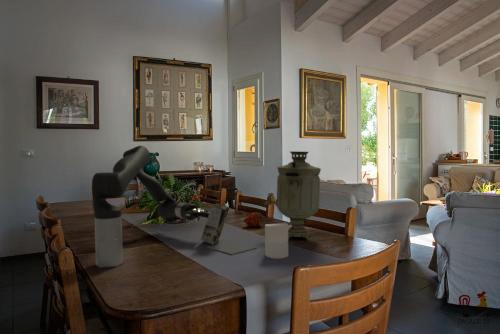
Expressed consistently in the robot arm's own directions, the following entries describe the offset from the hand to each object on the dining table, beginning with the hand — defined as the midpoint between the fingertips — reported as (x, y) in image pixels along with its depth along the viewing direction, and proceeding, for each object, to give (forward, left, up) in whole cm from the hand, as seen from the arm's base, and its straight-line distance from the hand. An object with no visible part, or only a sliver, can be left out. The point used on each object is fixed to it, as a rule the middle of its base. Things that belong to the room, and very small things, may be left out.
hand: (209, 215), depth 171 cm
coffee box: (0, 0, -11) cm, 11 cm away
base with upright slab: (-28, -22, -12) cm, 38 cm away
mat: (-13, -7, -12) cm, 19 cm away
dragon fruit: (+28, -28, -12) cm, 41 cm away
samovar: (-1, -39, -12) cm, 41 cm away
